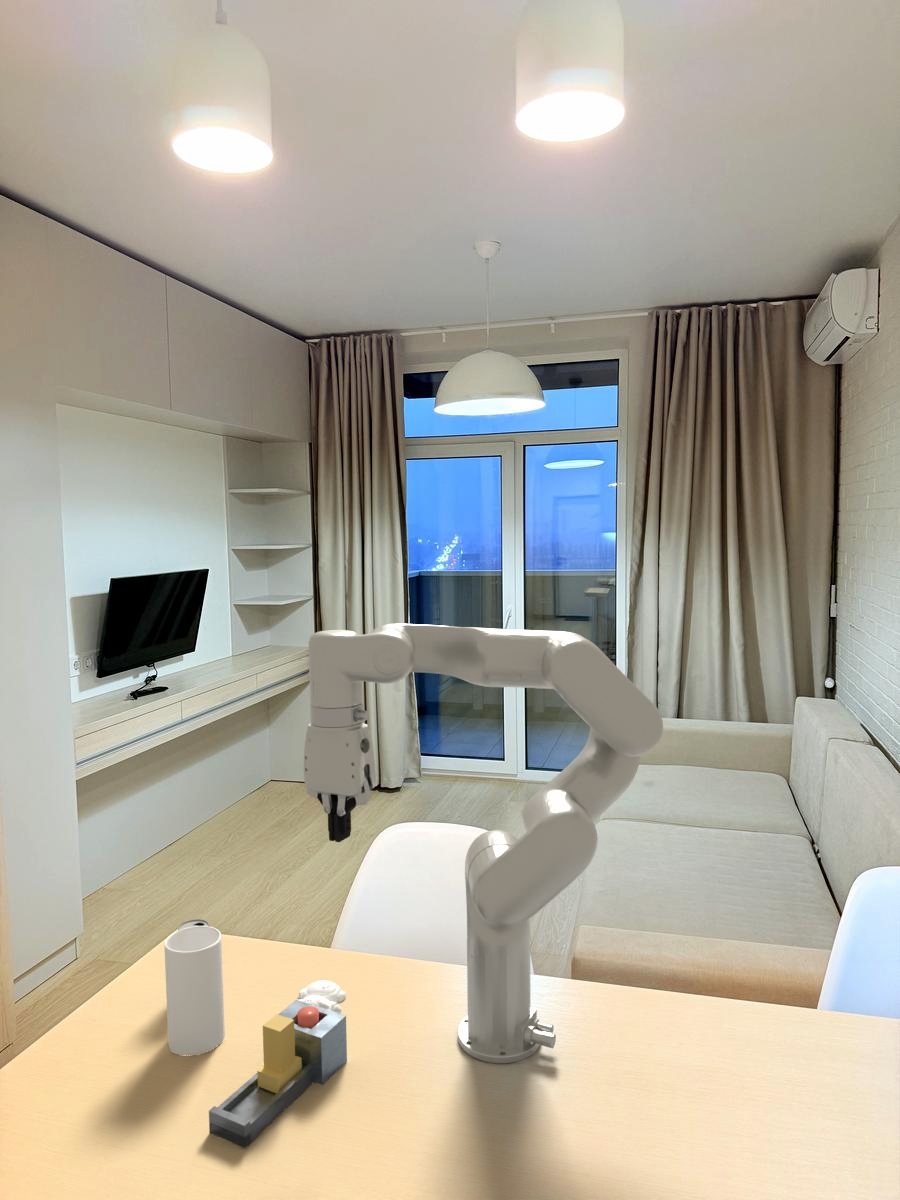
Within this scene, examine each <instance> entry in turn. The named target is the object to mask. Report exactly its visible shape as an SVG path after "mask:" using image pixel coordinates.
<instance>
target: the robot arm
mask: <svg viewBox="0 0 900 1200" xmlns="http://www.w3.org/2000/svg"><path fill="white" fill-rule="evenodd" d="M308 670H309V672H308V673H309V674H308V675H309V704H310V705H309V706H310V707H309V709H310V723H308V725H307V729H306V733H305V740H304V751H303V753H304V754H303V779H304V784H305V786H306V788H307V789H306V794H307V795H308V796H310V797H312V798H315V799H317V800H318V801H319V802H320V804H321V805H322V807H323V808H322V809H323V812H324V813H325V814H326V815H327V830H328V831H327V832H328V840H329V841H330V842H335V843H341V842H343V841H344V840H345V839H347V838H349V837H350V836H351V832H352V811H354V810H355V808H356V806H364V805H368V804H369V803H371V802H372V801H373V797H372V794H371V790H373V789H374V788H375V787H376V782H377V779H376V777H377V776H376V775H377V774H376V763H375V751H374V745H373V740H372V735H371V732H370V727H369V725H368V724H367V723H364V721H368V720H369V717H370V712H369V711H368V710H365V709H364V704H363V682H366V683H368V682H369V683H373V684H383V685H384V684H388V685H389V684H396V683H398V682H400V681H402V680H404V679H405V678H406V677H408V675H409V674H410V673H424V674H425V673H426V674H427V673H428V674H439V675H446V676H450V677H453V678H457V679H460V680H463V681H465V682H468V683H469V684H472V685H476V686H481V687H488V688H521V689H523V688H526V689H546V690H547V689H549V690H554V691H556V693H557V694H558V695H559V696H560V697H561V698H562V699H563V700H564V702H565V703H566V704H567V705H568V706H569V707H570V708H571V709H572V710H573V712H575V714H576V715H578V716H579V718H581V720H583V722H584V723H586V725H588V726H589V735H588V739H587V741H586V743H585V745H584V747H583V748H582V750H581V751H580V753H579V754H578V755H577V756H576V757H575V758H574V759H572V761H570V763H569V764H568V765H567V766H566V767H565V768H563V770H561V771H560V772H559V773H558V774H556V776H554V778H552V779H551V780H550V781H549V782H548V783H546V784H545V785H544V786H543V787H542V788H541V789H539V790H538V791H537V792H536V793H534V795H532V796H531V797H530V798H529V799H528V800H527V801H526V803H525V804H524V806H523V808H522V811H521V819H520V820H521V825H522V830H523V833H524V834H523V835H521V836H520V838H517V837H516V836H515V835H513V834H511V833H509V832H507V831H505V830H501V829H500V830H499V829H494V830H493V829H492V830H489V831H485V832H483V833H482V834H479V835H478V836H477V837H476V838H474V840H473V842H472V843H471V844H470V845H469V847H468V849H467V853H466V855H465V861H464V879H465V881H464V883H465V901H466V902H465V903H466V967H467V968H466V969H467V970H466V973H467V974H466V979H467V980H466V981H467V982H466V985H467V987H466V989H467V993H466V994H467V999H466V1000H467V1016H465V1017H464V1018H463V1019H462V1020H461V1022H459V1025H458V1027H457V1041H458V1043H459V1045H460V1047H461V1048H462V1049H463V1051H464V1052H466V1053H467V1054H468V1055H469V1056H471V1057H473V1058H474V1059H478V1060H480V1061H482V1062H483V1061H484V1062H487V1063H494V1064H506V1063H507V1064H509V1063H514V1062H518V1061H522V1060H524V1059H526V1058H528V1057H531V1055H532V1054H534V1053H535V1052H536V1051H537V1050H538V1048H539V1047H540V1046H543V1047H546V1048H550V1049H554V1047H555V1045H556V1041H557V1040H556V1039H557V1036H556V1034H555V1033H554V1030H555V1029H554V1025H553V1024H551V1023H547V1022H541V1021H540V1019H539V1018H537V1017H538V1016H537V1015H538V1013H537V1008H536V1007H532V1006H531V935H532V934H531V928H532V927H531V919H532V917H534V916H535V915H537V913H539V912H540V911H541V910H542V909H543V908H544V907H546V906H547V905H548V904H549V903H550V902H552V901H553V900H554V899H555V898H557V896H558V895H559V894H560V893H562V892H563V891H564V890H565V889H566V888H568V887H569V886H570V885H571V884H572V883H573V882H574V881H575V880H576V879H578V878H579V877H580V875H582V874H583V873H584V872H585V871H586V869H587V868H588V867H589V866H590V864H591V863H592V861H593V860H594V859H593V858H594V857H595V855H596V852H597V849H598V843H599V842H598V840H599V837H598V832H597V828H596V826H595V822H596V821H597V820H598V819H600V817H602V815H604V813H606V812H607V811H608V809H610V808H611V807H612V805H613V804H615V802H617V801H618V800H619V799H621V797H622V796H623V794H624V793H625V792H626V791H627V790H628V788H629V787H630V785H631V784H632V782H633V780H634V779H635V776H636V774H637V772H638V770H639V765H640V762H641V758H642V756H644V755H646V754H648V753H650V752H652V751H654V749H655V748H656V747H657V745H659V743H660V742H661V739H662V737H663V733H664V721H663V717H662V714H661V712H660V711H659V708H658V707H657V706H656V704H654V703H653V701H652V700H650V699H649V697H647V696H646V694H645V693H644V692H642V691H641V689H640V688H638V686H636V684H635V683H633V682H632V681H631V679H630V678H628V677H627V676H626V675H625V674H624V673H623V672H622V671H621V670H620V669H619V667H617V666H616V665H615V663H613V661H611V659H610V658H609V657H608V656H607V655H606V654H605V653H604V652H603V651H602V650H601V649H600V648H599V647H598V646H597V645H596V644H595V643H593V642H592V641H591V640H589V639H587V638H585V637H584V636H582V635H581V634H579V633H576V632H570V631H564V630H563V631H562V630H537V629H535V630H534V629H533V630H532V629H510V628H509V629H508V628H490V627H489V628H487V627H473V626H467V627H466V626H464V627H463V626H452V625H451V626H449V625H435V624H415V623H414V624H413V623H386V624H382V625H379V626H377V627H375V628H374V629H373V630H372V631H371V632H370V633H366V634H359V633H356V631H353V630H350V629H349V630H347V629H330V630H329V629H328V630H327V629H326V630H320V631H317V632H314V633H313V634H312V635H311V636H310V637H309V640H308Z"/></svg>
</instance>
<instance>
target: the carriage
mask: <svg viewBox="0 0 900 1200" xmlns="http://www.w3.org/2000/svg"><path fill="white" fill-rule="evenodd" d="M278 1014H279V1013H277V1014H275V1015H274V1016H273V1017H271V1018H270V1019H269V1020H268V1021H266V1022H265V1023H264V1024H263V1025H262V1043H263V1046H262V1048H263V1066H262V1067H260V1068H259V1069H258V1070H257V1072H256V1073H258V1086H259V1087H261V1088H264V1089H266V1090H269V1091H271V1092H274V1093H278V1092H279V1091H280V1090H281V1089H282V1088H283V1087H284V1086H285V1085H286V1084H288V1083H289V1082H290V1081H291V1080H292V1079H293V1078H294V1077H295V1076H296V1075H297V1074H298V1073H299V1072H300V1071H302V1058H301V1057H298V1056H295V1034H294V1020H293V1019H290V1018H287V1017H284V1016H281V1015H278Z"/></svg>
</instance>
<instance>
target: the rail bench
mask: <svg viewBox="0 0 900 1200" xmlns="http://www.w3.org/2000/svg"><path fill="white" fill-rule="evenodd" d="M291 1003H292V1004H291ZM291 1003H290V1004H289V1005H288V1006H287V1007H286V1008H284V1009H283V1010H282V1011H280V1012H279V1013H277V1014H278V1015H281V1016H284V1017H287V1018H290V1019H293V1020H294V1034H295V1056H298V1057H301V1058H302V1071H300V1072H299V1073H298V1074H297V1075H296V1076H295V1077H294V1078H293V1079H292V1080H291V1081H290V1082H289V1083H288V1084H286V1085H285V1086H284V1087H283V1088H282V1089H281V1090H280V1091H279V1092H278V1093H274V1092H271V1091H269V1090H266V1089H264V1088H261V1087H259V1086H258V1073H257V1072H256V1073H255V1074H254V1075H253V1076H252V1077H250V1078H249V1079H248V1080H247V1081H246V1082H245V1083H243V1084H242V1085H241V1086H240V1087H239V1088H238V1089H237V1090H235V1091H234V1092H233V1093H232V1094H231V1095H230V1096H228V1097H227V1098H226V1099H225V1100H223V1102H222V1103H220V1104H219V1105H218V1106H212V1108H210V1109H209V1110H208V1123H209V1126H208V1127H209V1134H211V1135H213V1136H216V1137H218V1138H220V1137H221V1139H223V1140H225V1141H227V1142H230V1143H232V1144H234V1145H236V1146H239V1147H241V1148H243V1149H244V1150H245V1149H247V1148H248V1147H249V1146H250V1145H251V1144H252V1143H253V1142H255V1140H256V1139H257V1138H258V1137H259V1136H260V1135H262V1133H263V1132H264V1131H265V1130H267V1128H269V1127H270V1126H271V1124H272V1123H274V1121H276V1120H277V1119H278V1118H279V1117H280V1116H281V1115H282V1113H283V1114H284V1112H285V1111H286V1110H287V1109H288V1108H289V1107H290V1106H291V1105H292V1104H293V1103H294V1102H295V1101H296V1100H297V1099H298V1098H299V1097H301V1095H302V1094H304V1093H305V1091H306V1090H308V1089H309V1087H311V1086H312V1085H313V1084H317V1085H319V1086H324V1085H325V1084H326V1083H327V1082H328V1081H330V1079H331V1078H332V1077H333V1076H334V1075H335V1074H336V1073H337V1072H338V1071H339V1070H340V1069H341V1068H342V1067H343V1066H344V1065H345V1064H346V1063H347V1062H348V1049H347V1044H348V1042H347V1015H345V1014H342V1013H337V1012H333V1011H330V1010H327V1009H324V1008H321V1007H318V1006H315V1005H311V1004H308V1003H305V1002H302V1001H299V999H296V1000H294V1001H293V1002H291ZM308 1006H312V1007H316V1008H317V1009H318V1010H319V1023H318V1024H316V1025H315V1026H314V1027H313V1028H312V1029H309V1028H306V1027H303V1026H300V1025H298V1011H299V1010H300V1009H301V1008H304V1007H308ZM312 1083H313V1084H312Z"/></svg>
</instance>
